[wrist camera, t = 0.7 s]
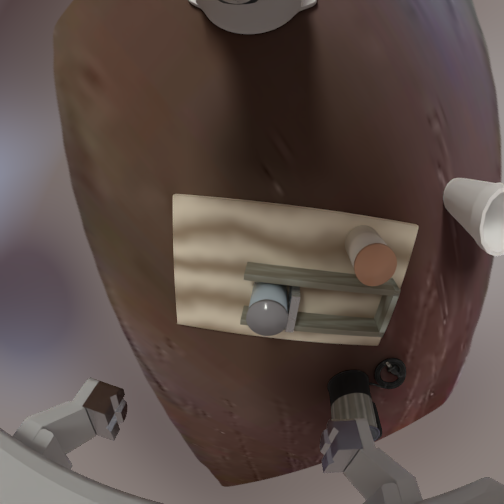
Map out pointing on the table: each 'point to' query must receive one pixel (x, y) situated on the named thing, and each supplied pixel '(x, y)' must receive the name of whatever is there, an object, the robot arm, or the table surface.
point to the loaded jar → (267, 309)
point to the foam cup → (478, 211)
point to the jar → (370, 256)
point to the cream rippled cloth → (281, 267)
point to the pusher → (292, 307)
